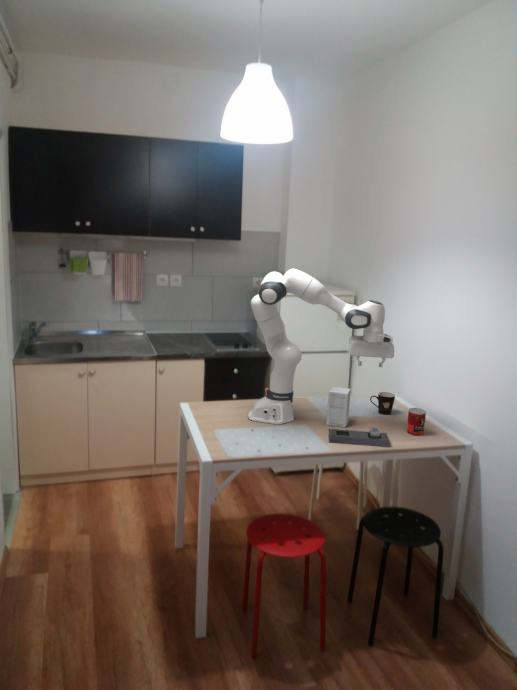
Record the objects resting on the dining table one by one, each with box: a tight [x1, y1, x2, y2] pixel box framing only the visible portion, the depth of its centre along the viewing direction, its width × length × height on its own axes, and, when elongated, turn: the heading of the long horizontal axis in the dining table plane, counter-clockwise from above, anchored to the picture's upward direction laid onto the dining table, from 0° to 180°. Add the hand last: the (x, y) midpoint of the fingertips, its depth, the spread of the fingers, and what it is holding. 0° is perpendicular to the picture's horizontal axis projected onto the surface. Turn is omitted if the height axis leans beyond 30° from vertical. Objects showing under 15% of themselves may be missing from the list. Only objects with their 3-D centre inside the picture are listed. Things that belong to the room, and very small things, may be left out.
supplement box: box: [326, 386, 352, 428], centre depth 275 cm, size 10×9×17 cm
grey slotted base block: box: [327, 428, 390, 448], centre depth 256 cm, size 26×9×3 cm, turn 85°
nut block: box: [368, 426, 381, 438], centre depth 255 cm, size 4×4×6 cm
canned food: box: [406, 407, 427, 437], centre depth 268 cm, size 8×8×11 cm
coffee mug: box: [369, 391, 396, 416], centre depth 295 cm, size 12×9×10 cm
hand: (370, 366), depth 262 cm, fingers open, 8 cm apart
